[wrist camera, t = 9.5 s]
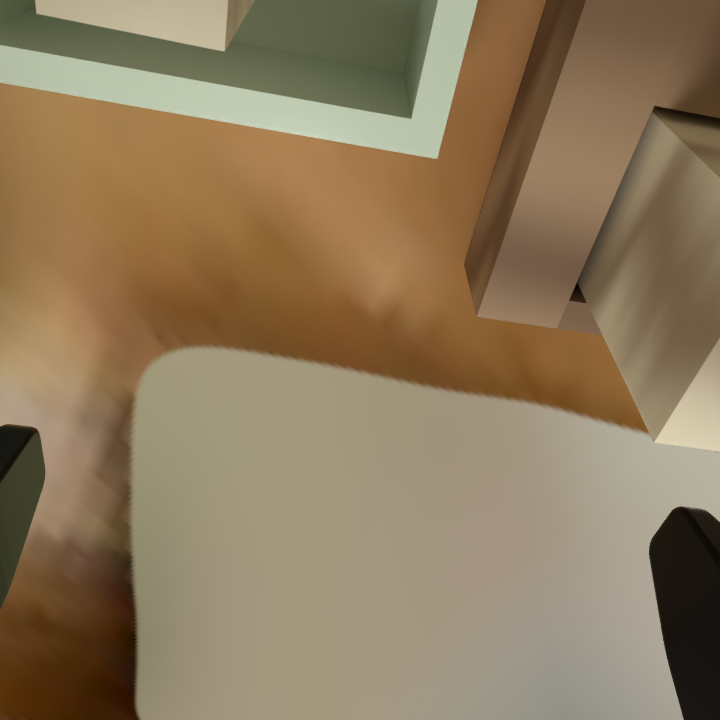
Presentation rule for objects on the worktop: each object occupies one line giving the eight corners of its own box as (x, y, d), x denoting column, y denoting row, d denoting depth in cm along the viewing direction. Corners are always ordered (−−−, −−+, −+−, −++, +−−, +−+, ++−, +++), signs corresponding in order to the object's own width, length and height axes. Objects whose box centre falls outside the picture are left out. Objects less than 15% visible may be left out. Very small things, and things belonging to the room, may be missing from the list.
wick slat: (631, 254, 22) (760, 456, 15) (558, 242, 22) (654, 442, 15) (705, 99, 19) (912, 261, 12) (621, 83, 19) (781, 238, 12)
